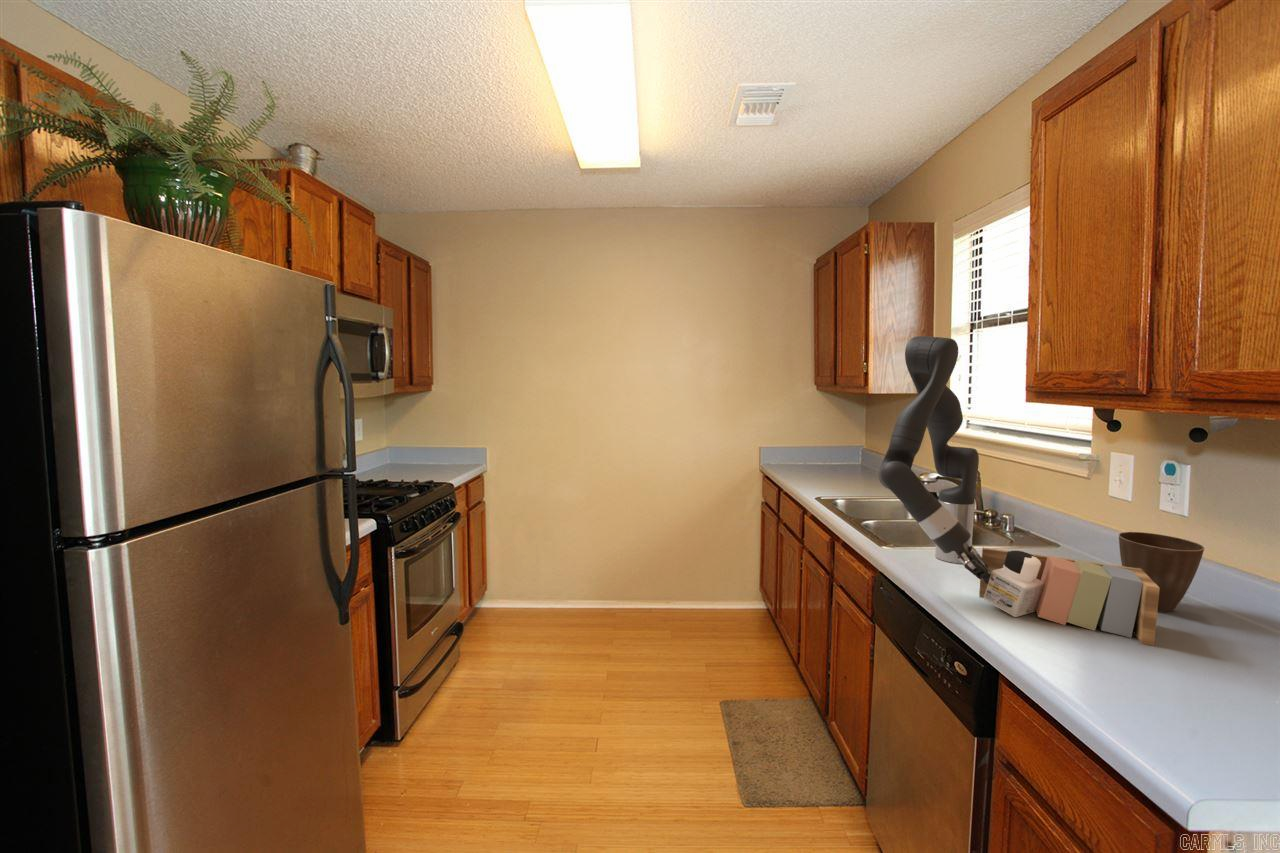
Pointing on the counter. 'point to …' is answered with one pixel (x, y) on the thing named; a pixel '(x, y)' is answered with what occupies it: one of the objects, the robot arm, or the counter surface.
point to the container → (1015, 584)
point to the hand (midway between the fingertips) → (998, 588)
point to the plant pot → (1162, 563)
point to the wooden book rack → (1150, 590)
